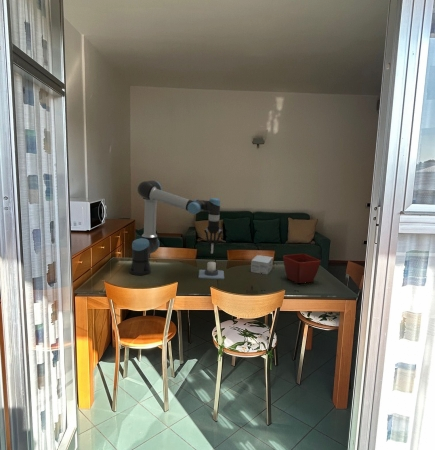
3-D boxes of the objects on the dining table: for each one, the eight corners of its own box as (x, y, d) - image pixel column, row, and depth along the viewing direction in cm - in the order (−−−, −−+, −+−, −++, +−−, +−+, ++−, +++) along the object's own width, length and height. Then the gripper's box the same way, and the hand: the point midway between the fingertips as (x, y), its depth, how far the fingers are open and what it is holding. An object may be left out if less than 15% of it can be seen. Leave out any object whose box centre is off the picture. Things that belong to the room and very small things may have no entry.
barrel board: (198, 278, 235) (198, 273, 234) (199, 270, 251) (199, 266, 250) (224, 279, 235) (224, 274, 235) (223, 271, 251) (223, 267, 250)
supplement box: (256, 266, 270) (256, 254, 268) (272, 268, 266) (273, 257, 264) (250, 271, 255) (251, 260, 253) (267, 274, 250) (268, 262, 248)
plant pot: (280, 277, 245) (282, 255, 242) (301, 275, 253) (303, 253, 250) (296, 286, 228) (299, 262, 225) (319, 283, 236) (321, 260, 232)
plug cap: (207, 272, 246) (207, 261, 244) (215, 272, 246) (215, 261, 244) (206, 274, 240) (207, 263, 238) (215, 275, 240) (215, 264, 239)
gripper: (204, 220, 232) (202, 253, 236) (223, 221, 232) (221, 254, 236) (204, 218, 239) (203, 251, 244) (223, 219, 239) (221, 252, 244)
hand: (211, 252), depth 240 cm, fingers closed
